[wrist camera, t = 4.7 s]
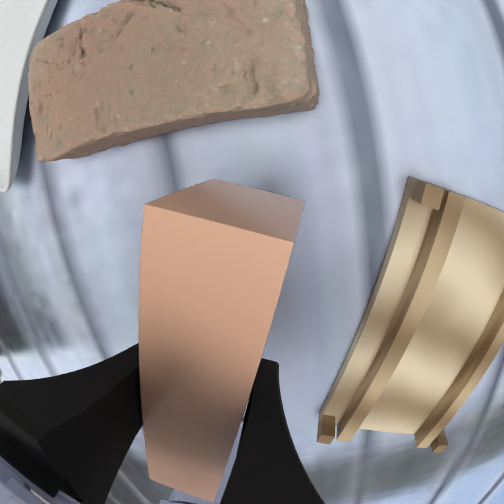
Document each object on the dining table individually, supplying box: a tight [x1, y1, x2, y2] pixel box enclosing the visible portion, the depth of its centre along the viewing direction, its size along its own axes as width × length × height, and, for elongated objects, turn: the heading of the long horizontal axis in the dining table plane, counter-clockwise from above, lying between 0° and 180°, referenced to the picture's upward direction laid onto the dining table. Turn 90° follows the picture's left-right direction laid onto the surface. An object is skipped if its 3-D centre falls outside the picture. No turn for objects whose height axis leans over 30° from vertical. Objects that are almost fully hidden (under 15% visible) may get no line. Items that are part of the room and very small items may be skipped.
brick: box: [28, 0, 319, 162], centre depth 13 cm, size 17×8×5 cm, turn 97°
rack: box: [317, 176, 504, 452], centre depth 16 cm, size 18×11×3 cm, turn 170°
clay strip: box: [139, 179, 305, 502], centre depth 11 cm, size 13×3×4 cm, turn 168°
